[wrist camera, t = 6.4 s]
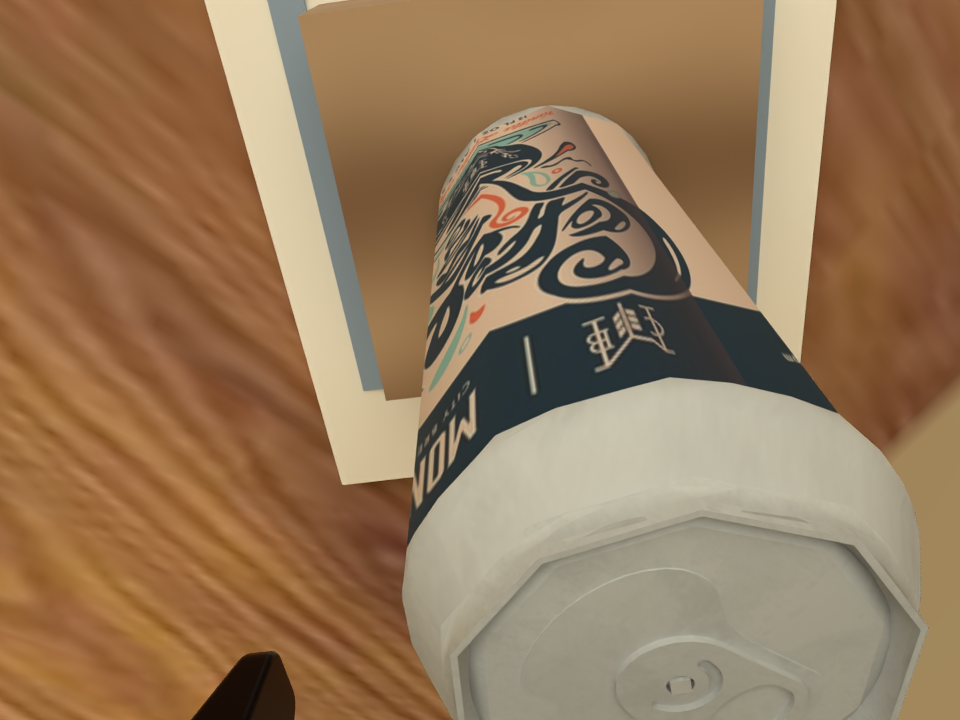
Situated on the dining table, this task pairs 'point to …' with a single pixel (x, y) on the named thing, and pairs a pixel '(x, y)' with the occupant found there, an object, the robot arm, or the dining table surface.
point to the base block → (513, 88)
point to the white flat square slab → (324, 239)
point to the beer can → (634, 466)
